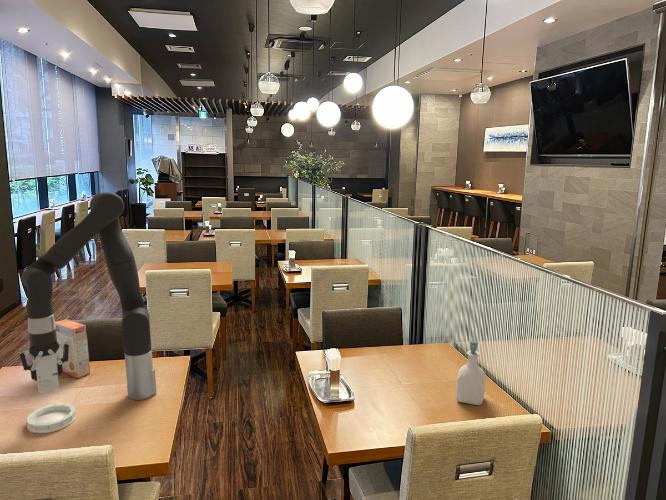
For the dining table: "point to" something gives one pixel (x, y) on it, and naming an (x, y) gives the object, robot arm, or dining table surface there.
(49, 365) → the skincare box
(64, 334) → the cracker box
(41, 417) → the dish
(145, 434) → the dining table surface
